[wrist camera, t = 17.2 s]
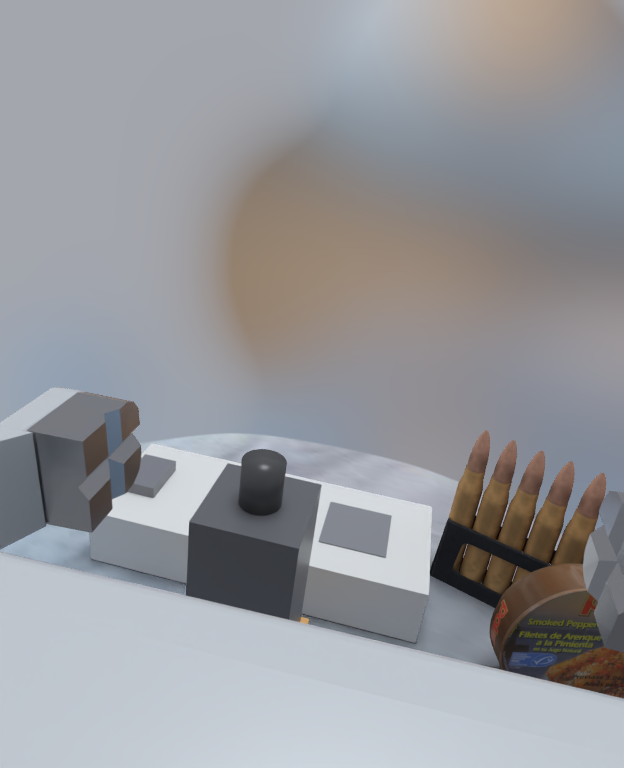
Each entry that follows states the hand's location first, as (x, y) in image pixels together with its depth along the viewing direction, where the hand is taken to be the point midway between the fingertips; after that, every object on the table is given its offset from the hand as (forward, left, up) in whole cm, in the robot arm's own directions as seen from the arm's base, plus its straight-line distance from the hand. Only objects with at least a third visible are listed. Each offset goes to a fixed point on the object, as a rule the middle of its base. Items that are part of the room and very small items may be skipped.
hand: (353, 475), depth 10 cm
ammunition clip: (-11, -24, -23) cm, 35 cm away
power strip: (+6, -23, -23) cm, 33 cm away
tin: (-16, -19, -23) cm, 34 cm away
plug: (+4, -11, -22) cm, 25 cm away
